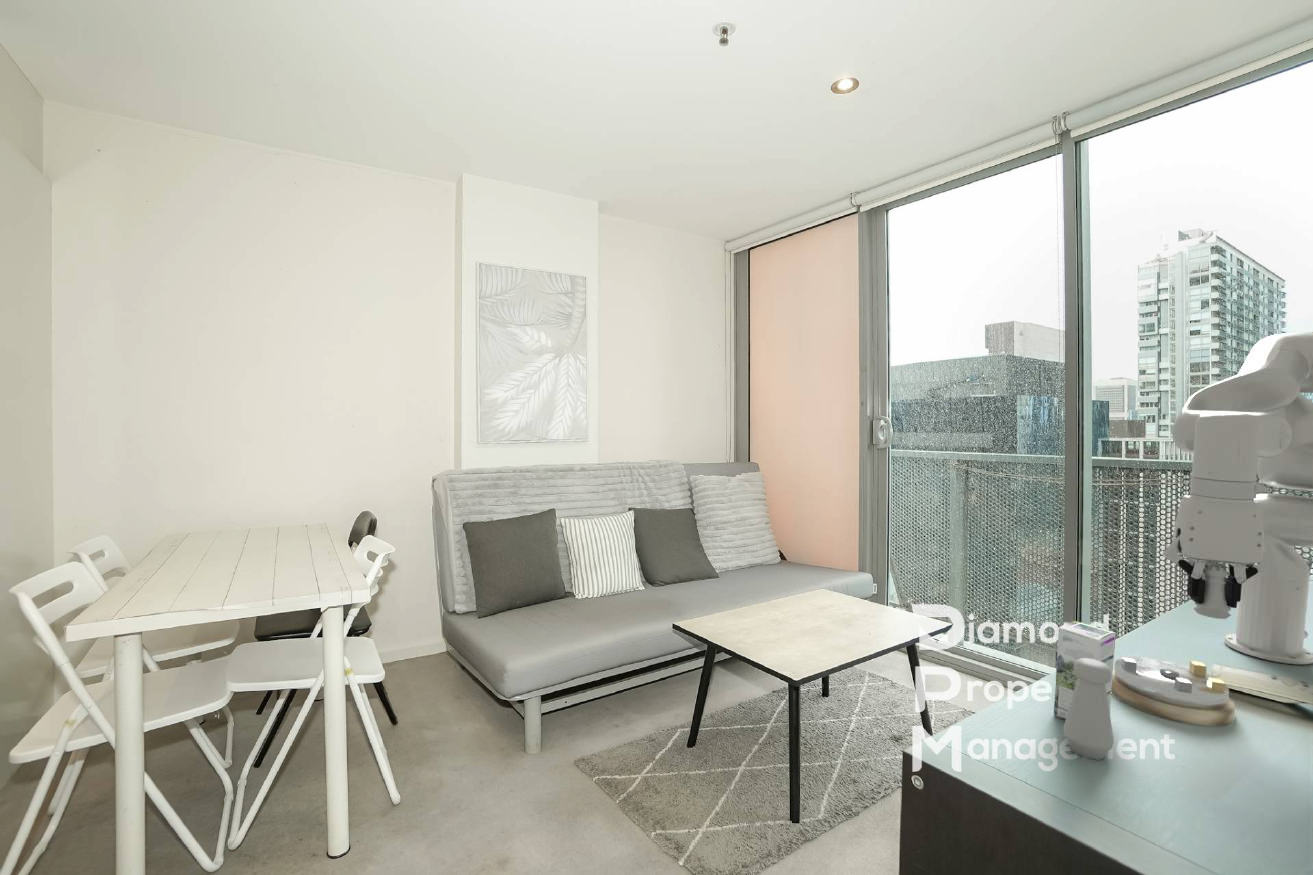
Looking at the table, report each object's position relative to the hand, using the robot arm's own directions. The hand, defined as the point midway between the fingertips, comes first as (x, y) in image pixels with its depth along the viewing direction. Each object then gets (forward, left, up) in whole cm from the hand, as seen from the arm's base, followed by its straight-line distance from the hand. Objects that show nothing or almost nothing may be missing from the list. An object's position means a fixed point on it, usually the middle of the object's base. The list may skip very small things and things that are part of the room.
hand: (1212, 602), depth 98 cm
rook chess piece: (0, 0, -2) cm, 2 cm away
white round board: (+4, -3, -15) cm, 16 cm away
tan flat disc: (+4, -3, -17) cm, 18 cm away
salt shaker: (+32, +2, -18) cm, 36 cm away
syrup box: (+24, -4, -18) cm, 30 cm away
